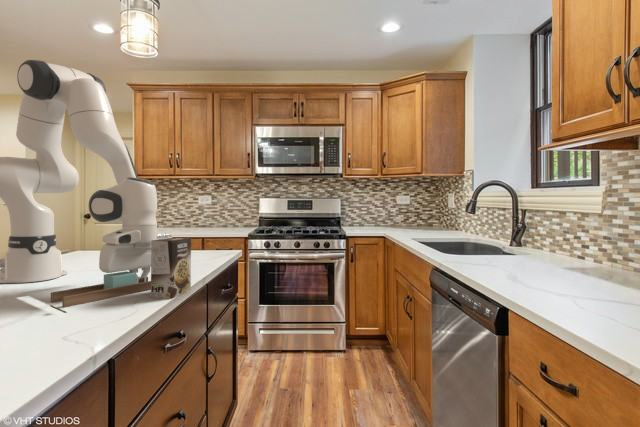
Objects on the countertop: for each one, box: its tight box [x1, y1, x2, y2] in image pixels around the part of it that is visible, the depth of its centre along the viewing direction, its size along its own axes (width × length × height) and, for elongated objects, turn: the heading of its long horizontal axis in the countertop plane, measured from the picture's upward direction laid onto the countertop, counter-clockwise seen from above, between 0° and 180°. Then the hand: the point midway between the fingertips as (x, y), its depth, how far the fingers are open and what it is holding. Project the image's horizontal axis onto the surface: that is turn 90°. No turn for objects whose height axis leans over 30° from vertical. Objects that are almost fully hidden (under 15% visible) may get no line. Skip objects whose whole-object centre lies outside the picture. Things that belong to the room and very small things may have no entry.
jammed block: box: [103, 270, 137, 289], centre depth 95 cm, size 5×6×5 cm
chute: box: [50, 276, 151, 314], centre depth 93 cm, size 8×24×4 cm, turn 146°
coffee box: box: [150, 237, 192, 300], centre depth 95 cm, size 9×6×16 cm
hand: (139, 283), depth 100 cm, fingers closed
